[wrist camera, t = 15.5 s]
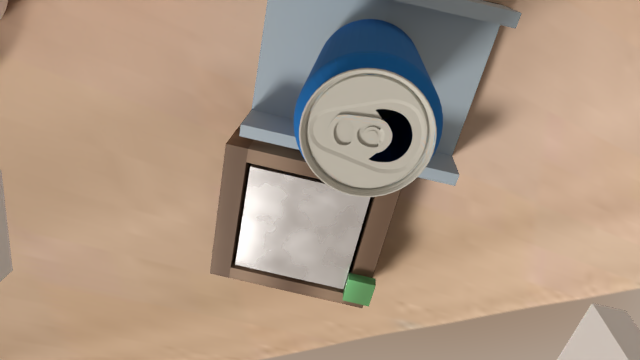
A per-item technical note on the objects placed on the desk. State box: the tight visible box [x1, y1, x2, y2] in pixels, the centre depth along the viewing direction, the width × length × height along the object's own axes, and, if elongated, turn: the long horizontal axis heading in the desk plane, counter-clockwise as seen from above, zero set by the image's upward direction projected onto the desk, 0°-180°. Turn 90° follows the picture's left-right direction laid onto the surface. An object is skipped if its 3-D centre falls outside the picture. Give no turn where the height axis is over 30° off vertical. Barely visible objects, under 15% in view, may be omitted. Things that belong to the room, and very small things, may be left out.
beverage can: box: [294, 19, 443, 197], centre depth 25 cm, size 6×6×12 cm
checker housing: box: [210, 128, 401, 308], centre depth 34 cm, size 12×11×4 cm
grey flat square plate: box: [235, 164, 370, 289], centre depth 34 cm, size 8×8×1 cm
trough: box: [239, 0, 522, 186], centre depth 29 cm, size 14×11×4 cm
